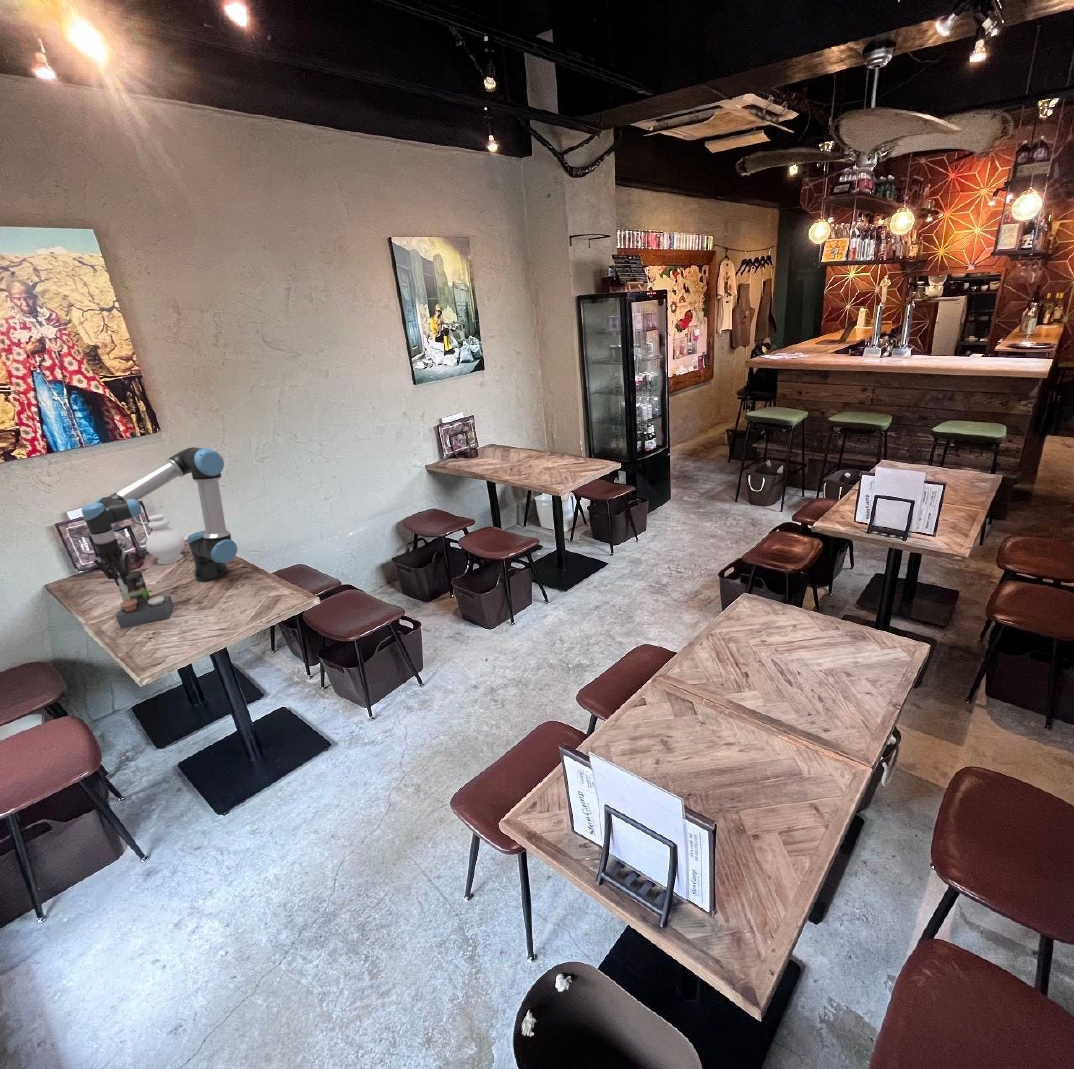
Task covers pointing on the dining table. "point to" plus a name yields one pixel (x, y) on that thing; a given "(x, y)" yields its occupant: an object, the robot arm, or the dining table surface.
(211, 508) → the robot arm
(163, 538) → the decorative vase
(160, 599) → the cream plunger
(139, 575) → the coffee can
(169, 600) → the plunger block
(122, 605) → the terracotta plunger
